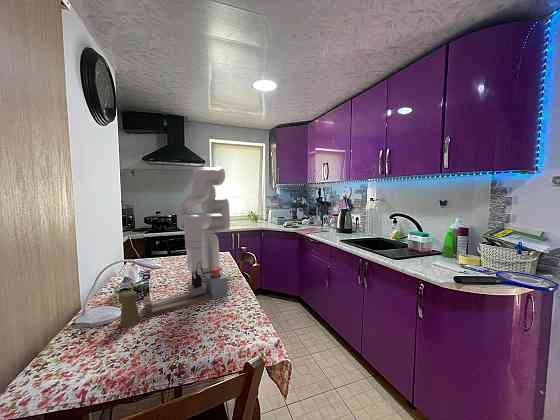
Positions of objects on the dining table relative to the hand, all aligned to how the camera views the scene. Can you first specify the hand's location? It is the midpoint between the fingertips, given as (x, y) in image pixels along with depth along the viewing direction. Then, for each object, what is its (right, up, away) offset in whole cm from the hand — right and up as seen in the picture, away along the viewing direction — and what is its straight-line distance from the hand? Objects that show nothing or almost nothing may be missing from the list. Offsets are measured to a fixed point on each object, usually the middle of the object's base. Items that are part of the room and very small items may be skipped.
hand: (196, 285), depth 100 cm
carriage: (0, -4, 0) cm, 4 cm away
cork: (-17, -8, -17) cm, 26 cm away
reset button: (+7, +2, +4) cm, 8 cm away
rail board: (-6, -6, -4) cm, 10 cm away
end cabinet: (+7, -5, +5) cm, 10 cm away
